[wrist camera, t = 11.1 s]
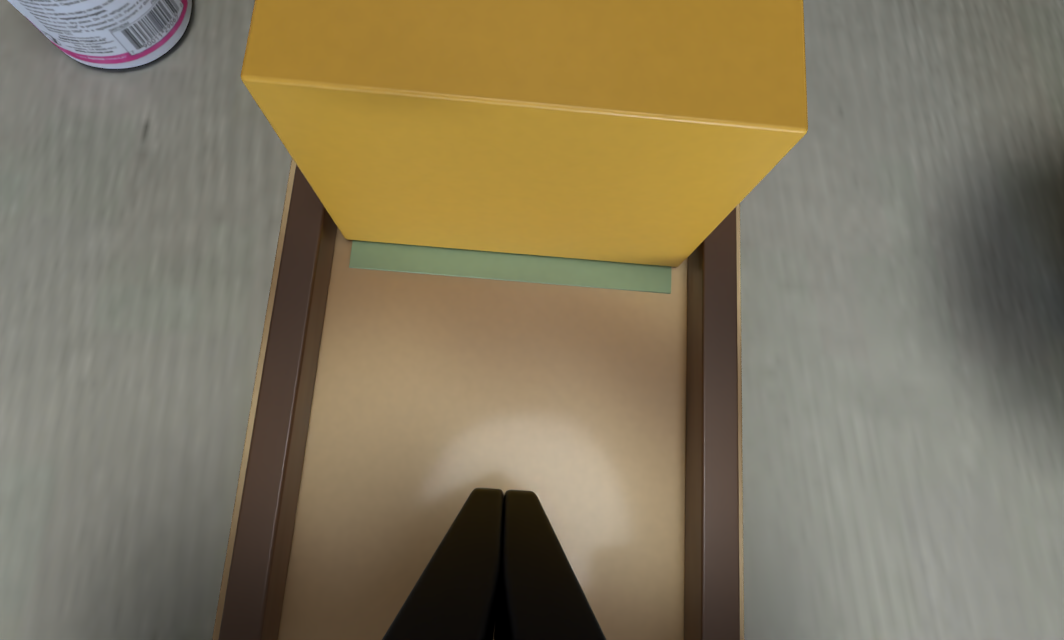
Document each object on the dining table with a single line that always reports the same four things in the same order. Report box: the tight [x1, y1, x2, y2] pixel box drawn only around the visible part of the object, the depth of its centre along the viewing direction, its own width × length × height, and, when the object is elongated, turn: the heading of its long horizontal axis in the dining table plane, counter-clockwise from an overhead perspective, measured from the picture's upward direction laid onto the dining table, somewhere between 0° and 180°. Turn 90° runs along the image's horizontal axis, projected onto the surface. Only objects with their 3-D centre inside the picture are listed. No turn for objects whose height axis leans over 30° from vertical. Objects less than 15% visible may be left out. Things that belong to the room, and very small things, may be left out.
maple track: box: [212, 158, 744, 640], centre depth 18 cm, size 22×14×3 cm, turn 176°
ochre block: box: [241, 0, 808, 267], centre depth 15 cm, size 6×10×8 cm, turn 86°
